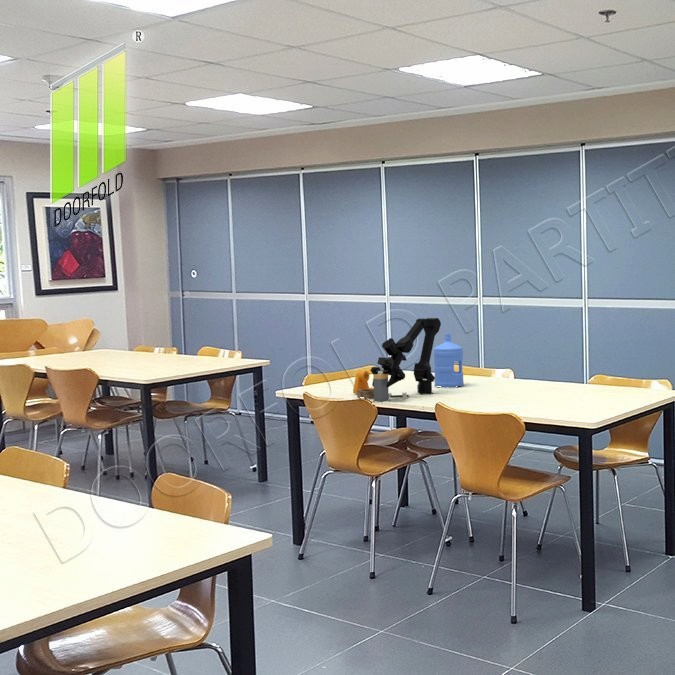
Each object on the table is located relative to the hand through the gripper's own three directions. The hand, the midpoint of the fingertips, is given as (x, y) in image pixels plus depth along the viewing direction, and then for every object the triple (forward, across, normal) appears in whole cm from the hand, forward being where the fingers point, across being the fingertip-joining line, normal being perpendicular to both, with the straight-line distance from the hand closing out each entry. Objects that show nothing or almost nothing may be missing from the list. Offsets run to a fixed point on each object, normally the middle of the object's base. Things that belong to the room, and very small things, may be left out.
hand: (379, 386), depth 445 cm
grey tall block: (+4, 0, +6) cm, 7 cm away
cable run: (-6, -5, +16) cm, 17 cm away
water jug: (-41, -9, +51) cm, 66 cm away
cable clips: (-6, -4, +16) cm, 18 cm away
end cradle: (0, -14, +10) cm, 17 cm away
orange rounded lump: (-6, -26, +17) cm, 31 cm away
